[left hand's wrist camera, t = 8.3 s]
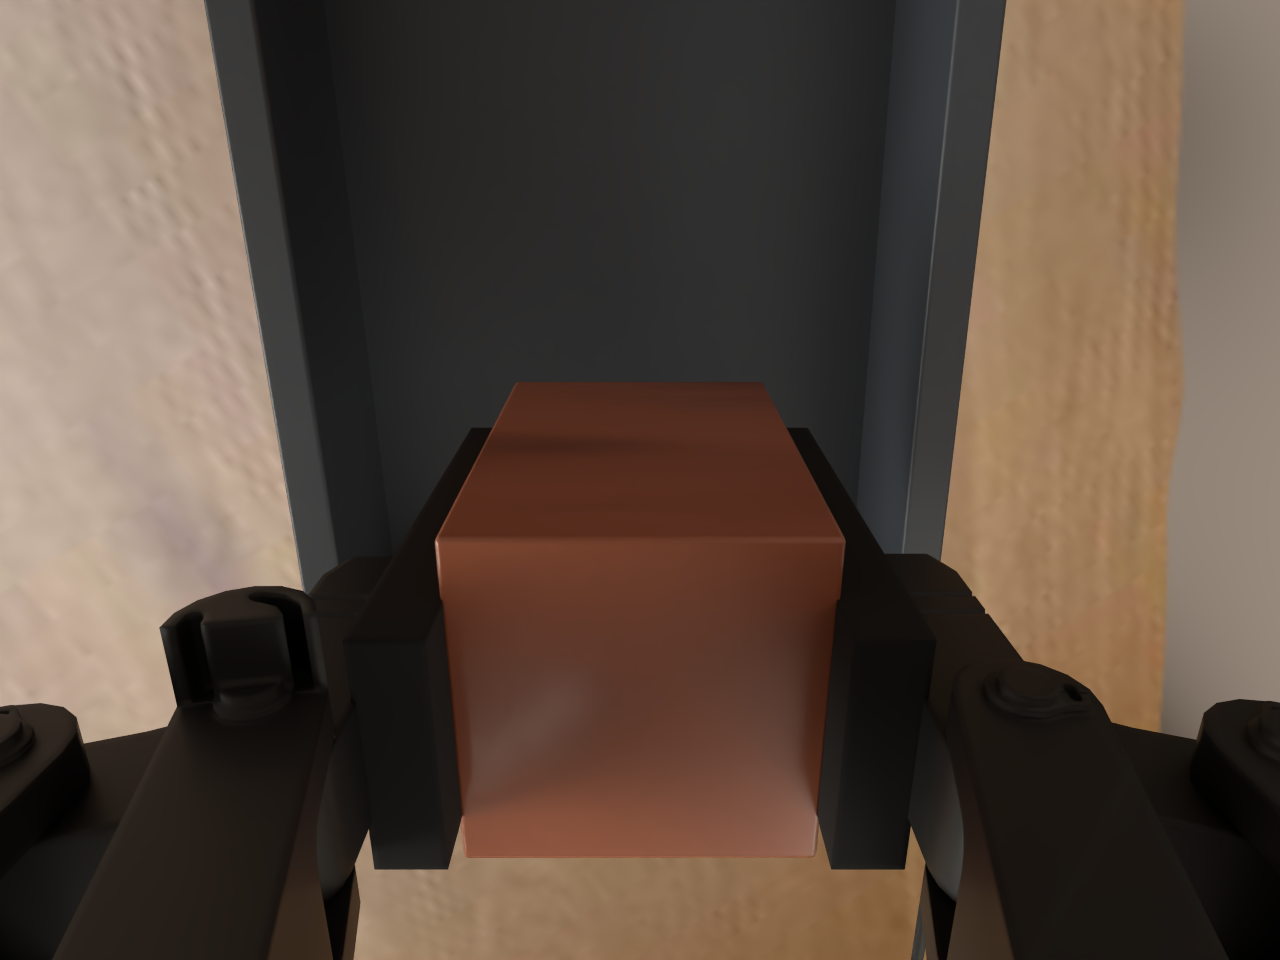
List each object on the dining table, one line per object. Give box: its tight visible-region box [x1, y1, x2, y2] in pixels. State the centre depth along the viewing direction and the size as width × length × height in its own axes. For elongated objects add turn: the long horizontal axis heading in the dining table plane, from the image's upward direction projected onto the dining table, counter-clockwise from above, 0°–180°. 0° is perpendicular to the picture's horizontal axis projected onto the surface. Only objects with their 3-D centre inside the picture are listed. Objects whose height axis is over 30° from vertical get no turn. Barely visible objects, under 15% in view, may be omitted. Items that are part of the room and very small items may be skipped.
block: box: [435, 382, 846, 858], centre depth 12 cm, size 4×4×6 cm
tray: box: [204, 0, 1006, 595], centre depth 15 cm, size 25×13×7 cm, turn 1°
